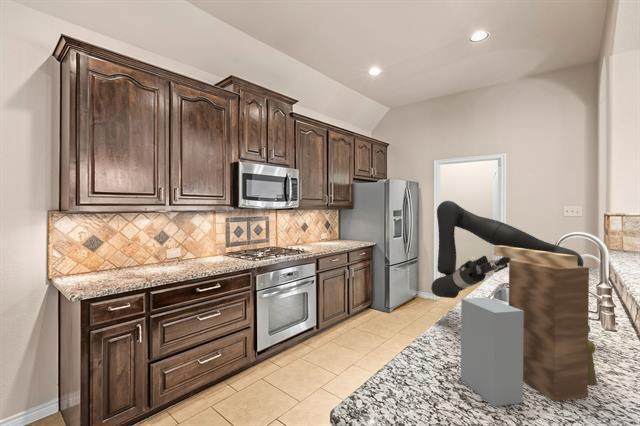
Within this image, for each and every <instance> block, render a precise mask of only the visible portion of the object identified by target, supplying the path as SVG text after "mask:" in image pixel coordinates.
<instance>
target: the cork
mask: <svg viewBox="0 0 640 426" xmlns="http://www.w3.org/2000/svg"><path fill="white" fill-rule="evenodd" d="M595 352H596V346H595V344H594V342H593V341H592V340H590V339H588V386H596V385H598V383H597V376H596V370H595V363H594V362H595V361H594V356H593V354H594V353H595Z"/></svg>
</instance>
